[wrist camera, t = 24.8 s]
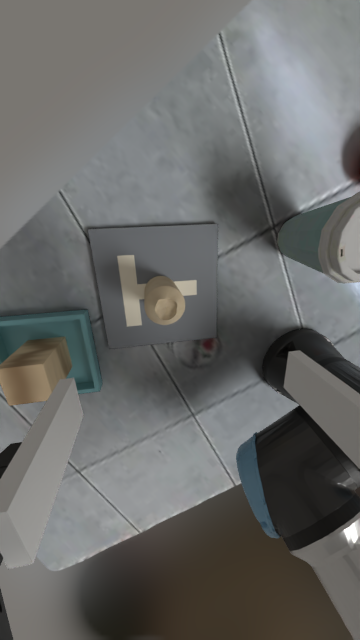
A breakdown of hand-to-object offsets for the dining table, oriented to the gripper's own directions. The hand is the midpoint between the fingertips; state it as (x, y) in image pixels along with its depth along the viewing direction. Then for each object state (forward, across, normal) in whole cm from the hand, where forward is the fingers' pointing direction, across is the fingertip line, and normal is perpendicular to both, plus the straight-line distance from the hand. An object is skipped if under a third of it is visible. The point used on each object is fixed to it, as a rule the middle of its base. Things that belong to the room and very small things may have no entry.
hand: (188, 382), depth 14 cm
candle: (+26, 0, 0) cm, 26 cm away
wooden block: (+26, +20, +10) cm, 34 cm away
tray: (+27, +20, +10) cm, 35 cm away
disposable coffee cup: (+27, -24, -7) cm, 37 cm away
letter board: (+27, 0, 0) cm, 27 cm away
